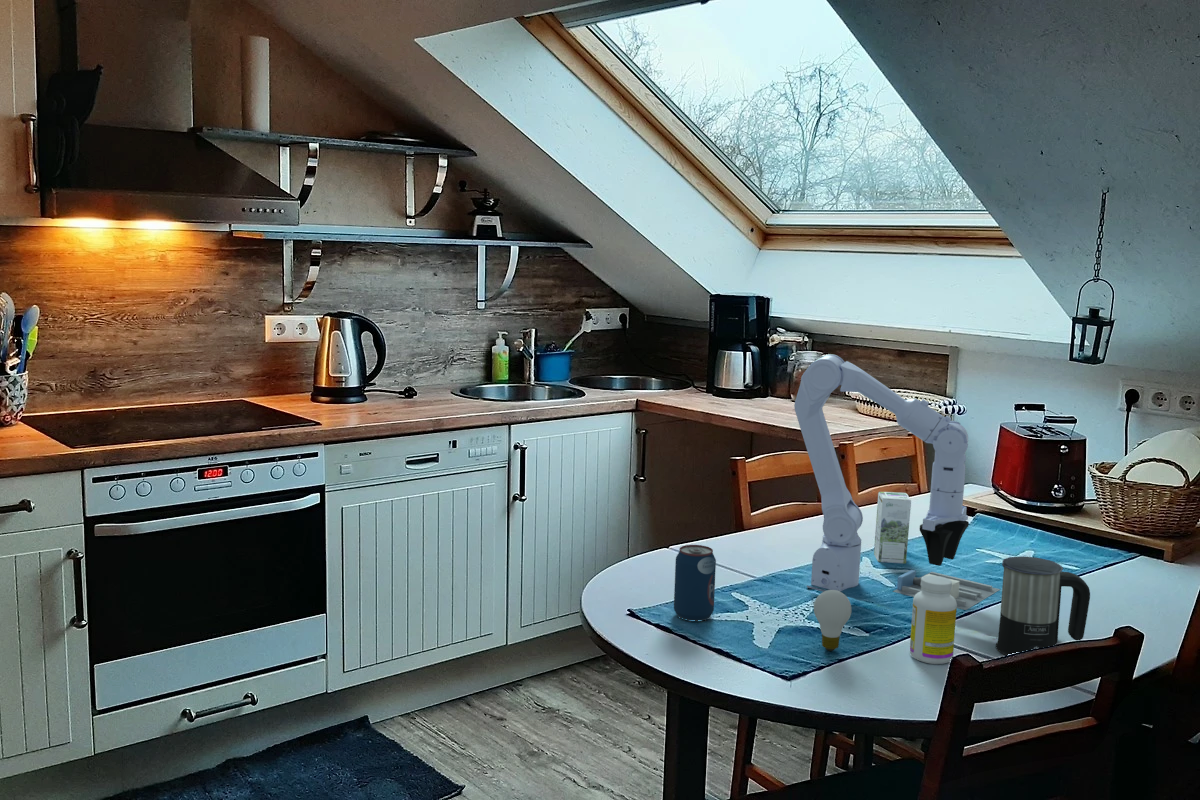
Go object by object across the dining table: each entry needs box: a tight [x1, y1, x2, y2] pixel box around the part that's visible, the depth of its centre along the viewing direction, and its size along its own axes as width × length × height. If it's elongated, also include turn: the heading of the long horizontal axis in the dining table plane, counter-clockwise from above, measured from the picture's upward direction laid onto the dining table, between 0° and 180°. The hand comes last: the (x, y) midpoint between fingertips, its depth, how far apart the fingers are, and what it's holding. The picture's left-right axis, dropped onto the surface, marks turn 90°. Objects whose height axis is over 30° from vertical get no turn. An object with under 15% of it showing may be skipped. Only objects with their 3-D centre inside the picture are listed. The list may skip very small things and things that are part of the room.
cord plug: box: [913, 573, 960, 598], centre depth 200 cm, size 3×8×3 cm, turn 49°
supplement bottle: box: [909, 575, 958, 665], centre depth 171 cm, size 7×7×13 cm
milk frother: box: [995, 555, 1091, 656], centre depth 178 cm, size 14×16×15 cm
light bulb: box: [813, 589, 852, 652], centre depth 173 cm, size 6×6×10 cm
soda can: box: [673, 544, 717, 621], centre depth 187 cm, size 7×7×12 cm
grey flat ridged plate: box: [892, 569, 1001, 611], centre depth 202 cm, size 16×14×4 cm
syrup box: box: [873, 491, 912, 564], centre depth 220 cm, size 6×6×14 cm
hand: (941, 561), depth 198 cm, fingers open, 5 cm apart
